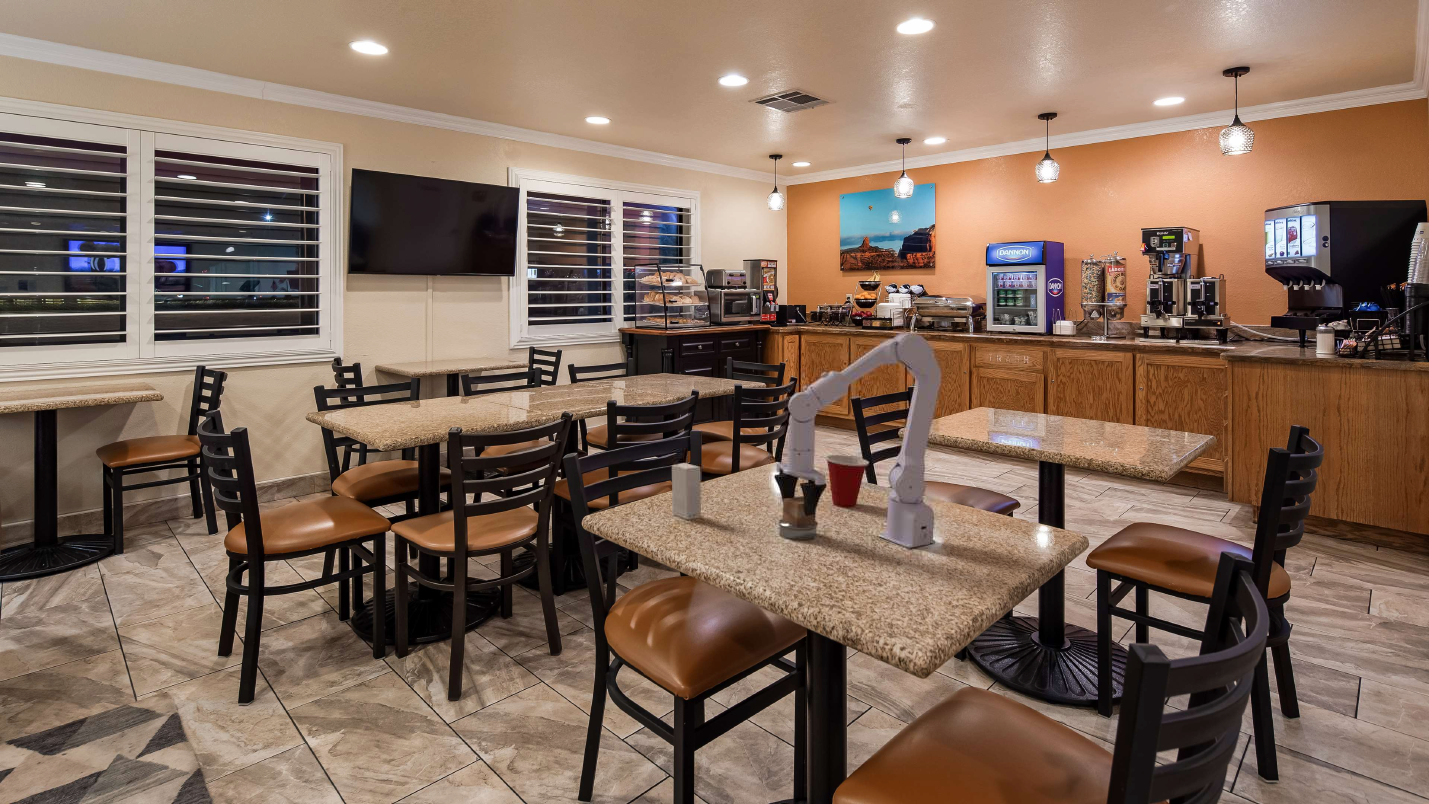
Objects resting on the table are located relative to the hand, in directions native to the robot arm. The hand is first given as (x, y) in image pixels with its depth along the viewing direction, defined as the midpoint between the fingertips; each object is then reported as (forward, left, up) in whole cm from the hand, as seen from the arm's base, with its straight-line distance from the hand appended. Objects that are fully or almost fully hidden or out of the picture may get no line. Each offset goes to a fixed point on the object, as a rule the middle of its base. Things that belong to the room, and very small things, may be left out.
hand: (798, 510), depth 161 cm
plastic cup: (+15, -26, -6) cm, 31 cm away
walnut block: (0, 0, -3) cm, 3 cm away
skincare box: (+24, +14, -6) cm, 29 cm away
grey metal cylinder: (0, 0, -6) cm, 6 cm away
